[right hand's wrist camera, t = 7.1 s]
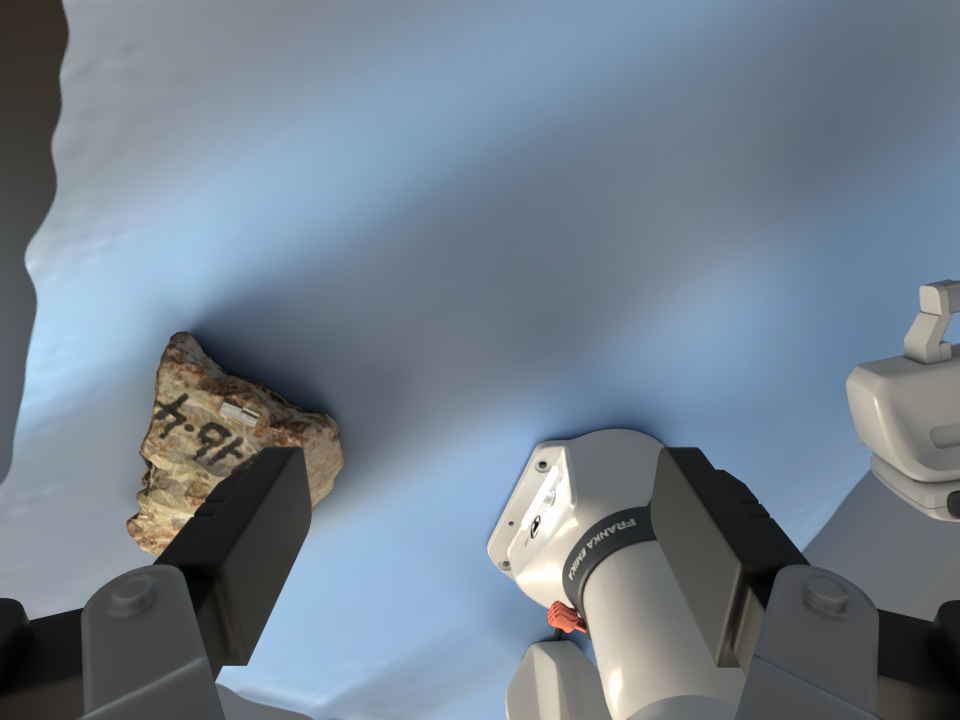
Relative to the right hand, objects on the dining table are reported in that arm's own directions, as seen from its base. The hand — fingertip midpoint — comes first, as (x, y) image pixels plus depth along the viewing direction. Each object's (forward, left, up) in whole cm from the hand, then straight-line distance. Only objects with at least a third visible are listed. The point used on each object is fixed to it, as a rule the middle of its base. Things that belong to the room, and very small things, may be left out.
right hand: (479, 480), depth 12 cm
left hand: (-1, +33, -21) cm, 39 cm away
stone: (+23, -25, -35) cm, 49 cm away
